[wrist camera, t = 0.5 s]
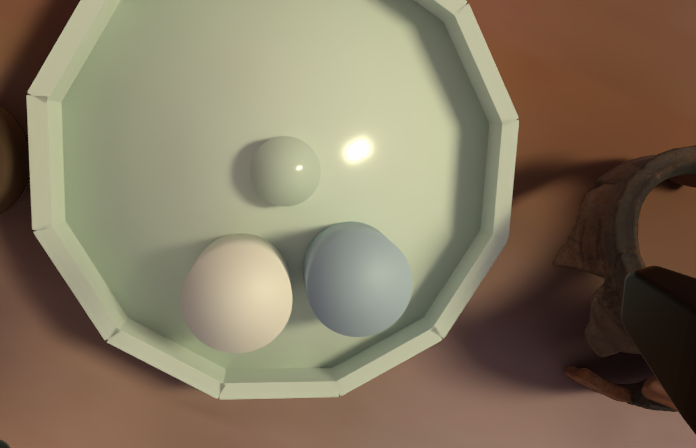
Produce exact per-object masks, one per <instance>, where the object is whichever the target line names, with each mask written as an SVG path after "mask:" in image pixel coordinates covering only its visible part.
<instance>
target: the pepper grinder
mask: <svg viewBox="0 0 696 448" xmlns="http://www.w3.org/2000/svg"><path fill="white" fill-rule="evenodd" d="M29 174H30V168H29V146H28V143H27V140H26V137H25V135H24V133H23V131H22V129H21V128H20V126H19V125H18V123H17V122H16V120H15V119H14V118H13V117H12V116H11V115H10V114H9V113H8V112H7V111H6V110H5V109H4V108H3V107H1V106H0V213H2V212H4V211H5V210H7V209H8V208H9V207H10V206H12V205H13V204H14V203H15V202H16V200H17V199H18V198H19V197H20V195H21V194H22V192H23V191H24V188H25V186H26V184H27V181H28V178H29Z"/></svg>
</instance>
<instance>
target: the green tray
mask: <svg viewBox="0 0 696 448" xmlns="http://www.w3.org/2000/svg"><path fill="white" fill-rule="evenodd" d="M466 3H467V1H466V0H80V2H79V4H78V5H77V7H76V9H75V11H74V12H73V14H72V16H71V17H70V19H69V21H68V23H67V24H66V26H65V28H64V30H63V31H62V33H61V35H60V36H59V38H58V40H57V42H56V43H55V45H54V47H53V49H52V50H51V52H50V54H49V55H48V57H47V59H46V61H45V62H44V64H43V66H42V68H41V69H40V71H39V73H38V74H37V76H36V78H35V80H34V81H33V83H32V85H31V86H30V88H29V90H28V92H27V93H29V94H31V95H26V98H27V121H28V144H29V168H30V191H31V214H32V230H36V231H35V232H33V233H34V235H35V236H36V238H37V239H38V241H39V242H40V244H41V245H42V247H43V248H44V250H45V251H46V253H47V254H48V256H49V257H50V259H51V260H52V262H53V263H54V265H55V266H56V268H57V269H58V271H59V272H60V274H61V275H62V277H63V278H64V280H65V281H66V283H67V284H68V286H69V287H70V289H71V290H72V292H73V294H74V295H75V297H76V298H77V300H78V301H79V303H80V304H81V306H82V307H83V309H84V310H85V312H86V313H87V315H88V316H89V318H90V319H91V321H92V322H93V324H94V325H95V327H96V328H97V330H98V331H99V333H100V334H101V336H102V337H103V339H104V340H107V339H108V341H107V343H109V344H111V345H113V346H115V347H117V348H119V349H121V350H122V351H124V352H126V353H128V354H130V355H132V356H134V357H136V358H138V359H140V360H142V361H144V362H146V363H148V364H150V365H152V366H154V367H156V368H158V369H160V370H162V371H164V372H165V373H167V374H169V375H171V376H173V377H175V378H177V379H179V380H181V381H183V382H185V383H187V384H189V385H191V386H193V387H195V388H197V389H199V390H201V391H203V392H205V393H207V394H209V395H210V396H212V397H214V398H216V399H218V397H219V395H220V399H267V398H314V397H339V394H340V396H342V395H344V394H346V393H348V392H350V391H351V390H353V389H355V388H357V387H359V386H360V385H362V384H364V383H366V382H368V381H369V380H371V379H373V378H375V377H377V376H378V375H380V374H382V373H384V372H386V371H387V370H389V369H391V368H393V367H395V366H397V365H398V364H400V363H402V362H404V361H406V360H407V359H409V358H411V357H413V356H415V355H416V354H418V353H420V352H422V351H424V350H425V349H427V348H429V347H431V346H433V345H434V344H436V343H438V342H440V341H442V338H441V337H443V338H445V336H446V335H447V333H448V332H449V330H450V329H451V327H452V326H453V324H454V323H455V321H456V320H457V318H458V316H459V315H460V313H461V312H462V310H463V309H464V307H465V306H466V304H467V303H468V301H469V300H470V298H471V297H472V295H473V294H474V292H475V290H476V289H477V287H478V286H479V284H480V283H481V281H482V280H483V278H484V277H485V275H486V274H487V272H488V271H489V269H490V268H491V266H492V265H493V263H494V261H495V260H496V258H497V257H498V255H499V254H500V252H501V251H502V249H503V248H504V246H505V245H506V243H507V242H508V241H506V240H505V239H509V227H510V216H511V205H512V194H513V183H514V172H515V161H516V149H517V138H518V127H519V120H516V119H518V115H517V113H516V111H515V108H514V106H513V104H512V101H511V99H510V97H509V95H508V92H507V90H506V88H505V85H504V83H503V81H502V79H501V76H500V74H499V72H498V69H497V67H496V65H495V62H494V60H493V58H492V56H491V53H490V51H489V49H488V46H487V44H486V42H485V40H484V37H483V35H482V33H481V30H480V28H479V26H478V23H477V21H476V19H475V17H474V14H473V12H472V10H471V7H470V5H469V4H467V5H465V4H466ZM349 221H353V222H361V223H365V224H367V225H370V226H372V227H374V228H376V229H377V230H378V231H380V232H381V233H382V234H383V235H384V236H385V237H387V238H388V239H389V240H390V241H391V242H392V243H393V244H394V245H395V246H397V247H398V248H399V249H400V251H401V252H402V253H403V254H404V256H405V257H406V259H407V261H408V263H409V266H410V269H411V272H412V279H413V287H412V294H411V298H410V301H409V303H408V306H407V307H406V309H405V311H404V313H403V314H402V315H401V317H400V318H399V319H398V320H397V321H396V322H395V323H394V324H393V325H391V326H390V327H389V328H387V329H385V330H384V331H382V332H380V333H377V334H374V335H371V336H366V337H349V336H344V335H341V334H338V333H336V332H334V331H332V330H330V329H329V328H327V327H326V326H325V325H324V324H322V323H321V322H320V320H319V319H318V318H317V317H316V315H315V314H314V312H313V310H312V308H311V306H310V303H309V300H308V296H307V292H306V288H305V283H304V279H303V270H302V267H303V259H304V255H305V253H306V250H307V248H308V246H309V244H310V243H311V242H312V240H313V239H314V238H315V237H316V236H317V235H318V234H319V233H320V232H321V231H323V230H324V229H326V228H327V227H329V226H332V225H334V224H337V223H341V222H349ZM236 233H245V234H252V235H256V236H259V237H261V238H263V239H265V240H267V241H269V242H270V243H272V244H273V245H274V246H275V247H276V248H277V249H278V250H279V251H280V252H281V254H282V255H283V257H284V259H285V261H286V263H287V266H288V269H289V274H290V281H291V288H292V299H293V302H292V310H291V314H290V317H289V319H288V322H287V324H286V325H285V327H284V329H283V330H282V331H281V333H280V334H279V335H278V336H277V337H276V338H275V339H274V340H273V341H271V342H270V343H268V344H267V345H265V346H264V347H261V348H259V349H257V350H254V351H251V352H246V353H227V352H221V351H218V350H215V349H213V348H211V347H209V346H207V345H205V344H204V343H202V342H201V341H200V340H199V339H197V338H196V337H195V336H194V334H193V333H192V332H191V331H190V329H189V328H188V326H187V324H186V322H185V320H184V317H183V315H182V310H181V292H182V287H183V284H184V281H185V279H186V277H187V275H188V273H189V272H190V270H191V268H192V267H193V265H194V263H195V261H196V260H197V258H198V256H199V255H200V254H201V252H202V251H203V250H204V249H205V248H206V247H207V246H208V245H209V244H210V243H212V242H213V241H215V240H216V239H219V238H221V237H223V236H226V235H230V234H236Z"/></svg>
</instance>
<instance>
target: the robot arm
mask: <svg viewBox="0 0 696 448" xmlns="http://www.w3.org/2000/svg"><path fill="white" fill-rule="evenodd" d="M621 318H622V323H623V326H624V328H625V330H626V332H627V334H628V335H629V337H630V338H631V340H632V341H633V343H634V344H635V346H636V347H637V349H638V350H639V352H640V354H641V355H642V357H643V358H644V360H645V361H646V363H647V364H648V366H649V367H650V369H651V370H652V372H653V374H654V375H655V377H656V378H657V380H658V381H659V383H660V384H661V386H662V387H663V389H664V390H665V392H666V394H667V395H668V397H669V398H670V400H671V401H672V403H673V404H674V406H675V407H676V409H677V410H678V411H679V413H680V414H681V416H682V417H683V419H684V420H685V421H686V422H687V424H688V425H689V426H690V428H691V429H692V430H693V432H694V433H695V434H696V278H693V277H690V276H687V275H684V274H681V273H677V272H674V271H671V270H668V269H665V268H662V267H658V266H650V267H646V268H642V269H639V270H635V271H632V272H630V273H628V275H627V276H626V278H625V284H624V293H623V301H622V310H621ZM0 448H10V447H9V445H8V444H7V443H6V442H4V441H2V440H0Z"/></svg>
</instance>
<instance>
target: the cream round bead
mask: <svg viewBox="0 0 696 448" xmlns="http://www.w3.org/2000/svg"><path fill="white" fill-rule="evenodd" d="M292 302H293V299H292V288H291V281H290V274H289V269H288V266H287V263H286V261H285V259H284V257H283V255H282V254H281V252H280V251H279V250H278V249H277V248H276V247H275V246H274V245H273V244H272V243H270V242H269V241H267V240H265V239H263V238H261V237H259V236H256V235H252V234H245V233H236V234H230V235H226V236H223V237H221V238H219V239H216V240H215V241H213V242H212V243H210V244H209V245H208V246H207V247H206V248H205V249H204V250H203V251H202V252H201V254H200V255H199V256H198V258H197V260H196V261H195V263H194V265H193V267H192V268H191V270H190V272H189V273H188V275H187V277H186V279H185V281H184V284H183V287H182V292H181V310H182V315H183V317H184V320H185V322H186V324H187V326H188V328H189V329H190V331H191V332H192V333H193V334H194V336H195V337H196V338H197V339H199V340H200V341H201V342H202V343H204V344H205V345H207V346H209V347H211V348H213V349H215V350H218V351H221V352H227V353H246V352H251V351H254V350H257V349H259V348H261V347H264V346H265V345H267V344H268V343H270V342H271V341H273V340H274V339H275V338H276V337H277V336H278V335H279V334H280V333H281V331H282V330H283V329H284V327H285V325H286V324H287V322H288V319H289V317H290V314H291V310H292Z"/></svg>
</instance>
